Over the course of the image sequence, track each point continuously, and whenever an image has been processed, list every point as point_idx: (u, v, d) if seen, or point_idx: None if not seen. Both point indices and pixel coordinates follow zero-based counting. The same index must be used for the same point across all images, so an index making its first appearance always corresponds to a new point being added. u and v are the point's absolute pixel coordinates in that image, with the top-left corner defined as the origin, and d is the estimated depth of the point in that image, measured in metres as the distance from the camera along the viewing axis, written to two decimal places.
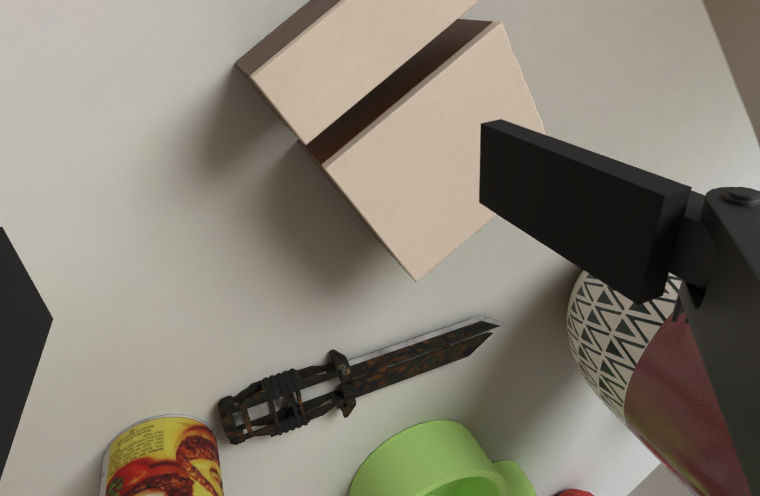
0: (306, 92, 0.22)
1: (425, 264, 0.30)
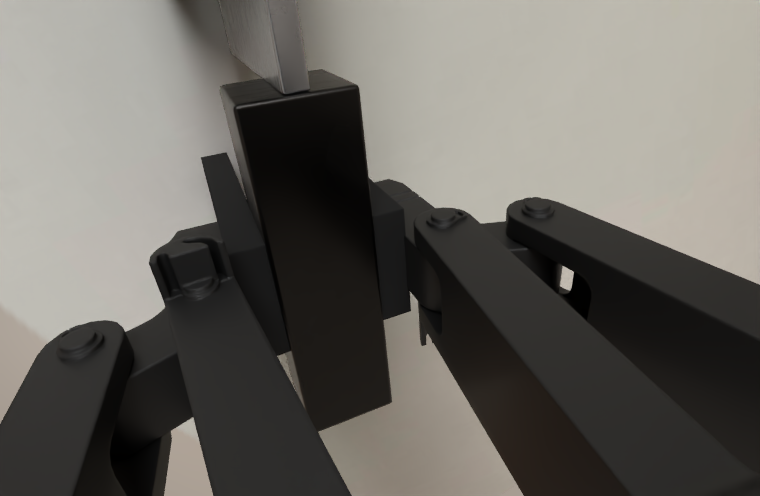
0: None
1: None
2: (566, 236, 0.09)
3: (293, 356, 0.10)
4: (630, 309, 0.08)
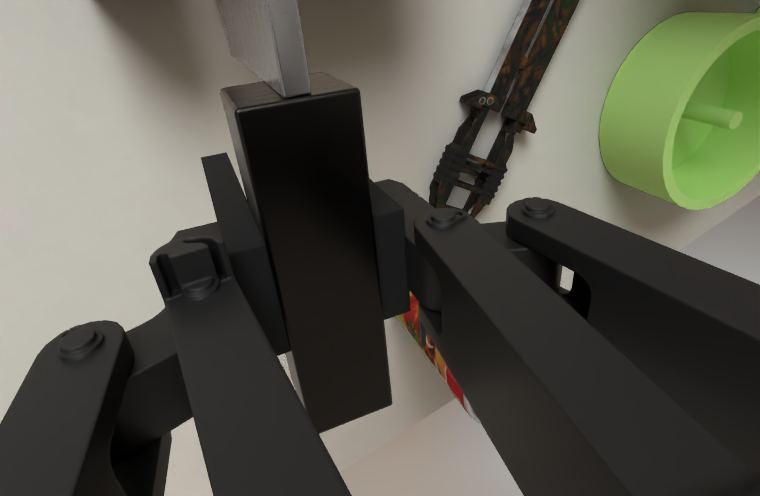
0: None
1: None
2: (566, 236, 0.09)
3: (294, 358, 0.10)
4: (630, 309, 0.08)
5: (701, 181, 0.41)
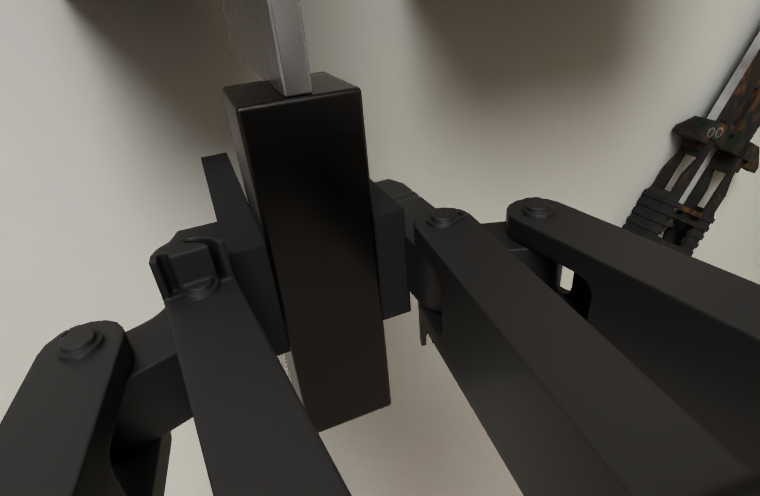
0: None
1: None
2: (566, 236, 0.09)
3: (293, 357, 0.10)
4: (630, 309, 0.08)
5: None
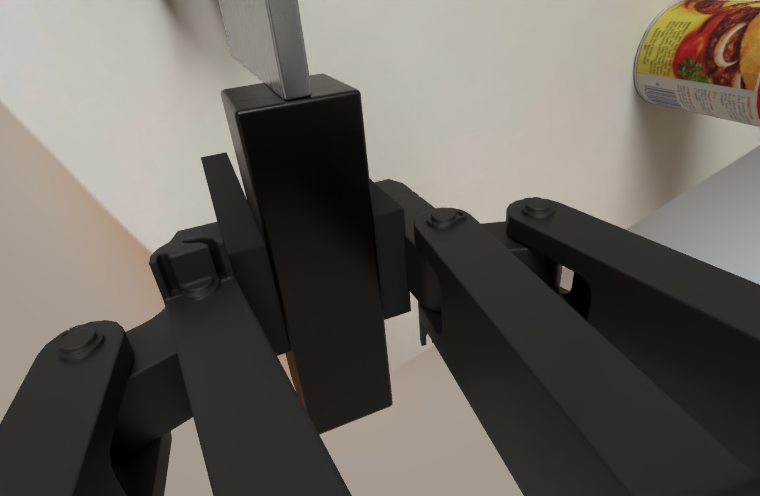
0: None
1: None
2: (566, 236, 0.09)
3: (294, 360, 0.10)
4: (630, 309, 0.08)
5: None
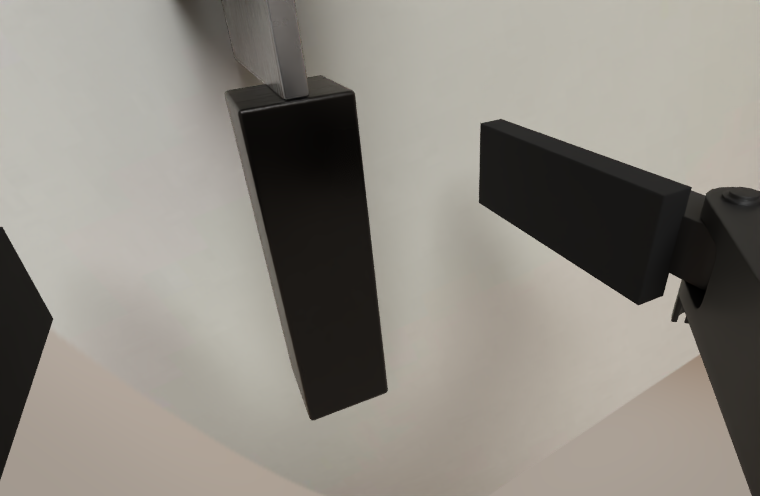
0: None
1: None
2: None
3: (293, 346, 0.11)
4: None
5: None
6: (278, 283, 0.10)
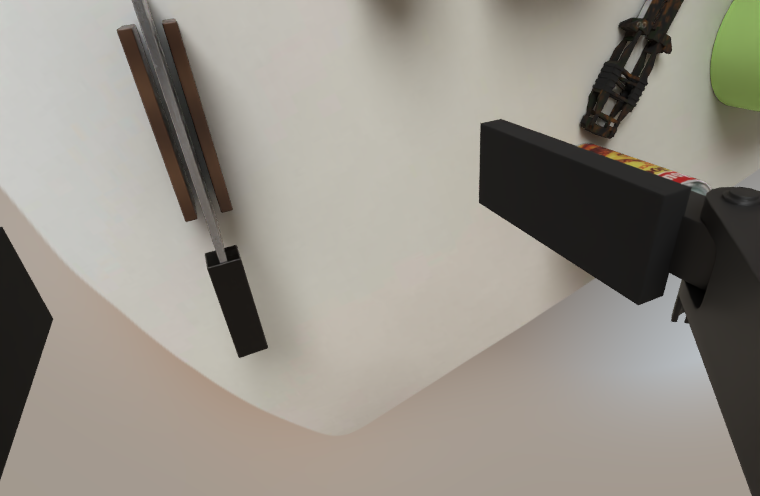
0: None
1: None
2: None
3: None
4: None
5: None
6: (222, 311, 0.32)
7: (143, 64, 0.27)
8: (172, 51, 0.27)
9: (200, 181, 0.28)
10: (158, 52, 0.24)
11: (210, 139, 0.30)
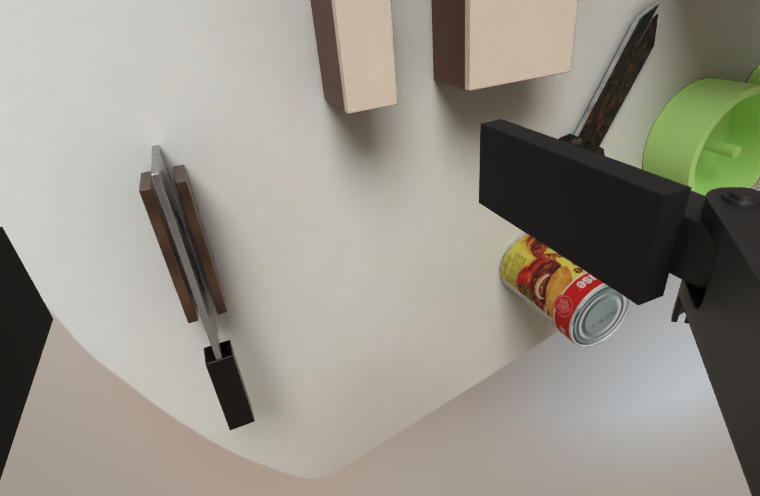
0: (371, 87, 0.34)
1: (565, 57, 0.39)
2: None
3: None
4: None
5: None
6: None
7: (158, 212, 0.34)
8: (182, 201, 0.34)
9: (202, 301, 0.35)
10: (172, 215, 0.32)
11: (210, 261, 0.37)
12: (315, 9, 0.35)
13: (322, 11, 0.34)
